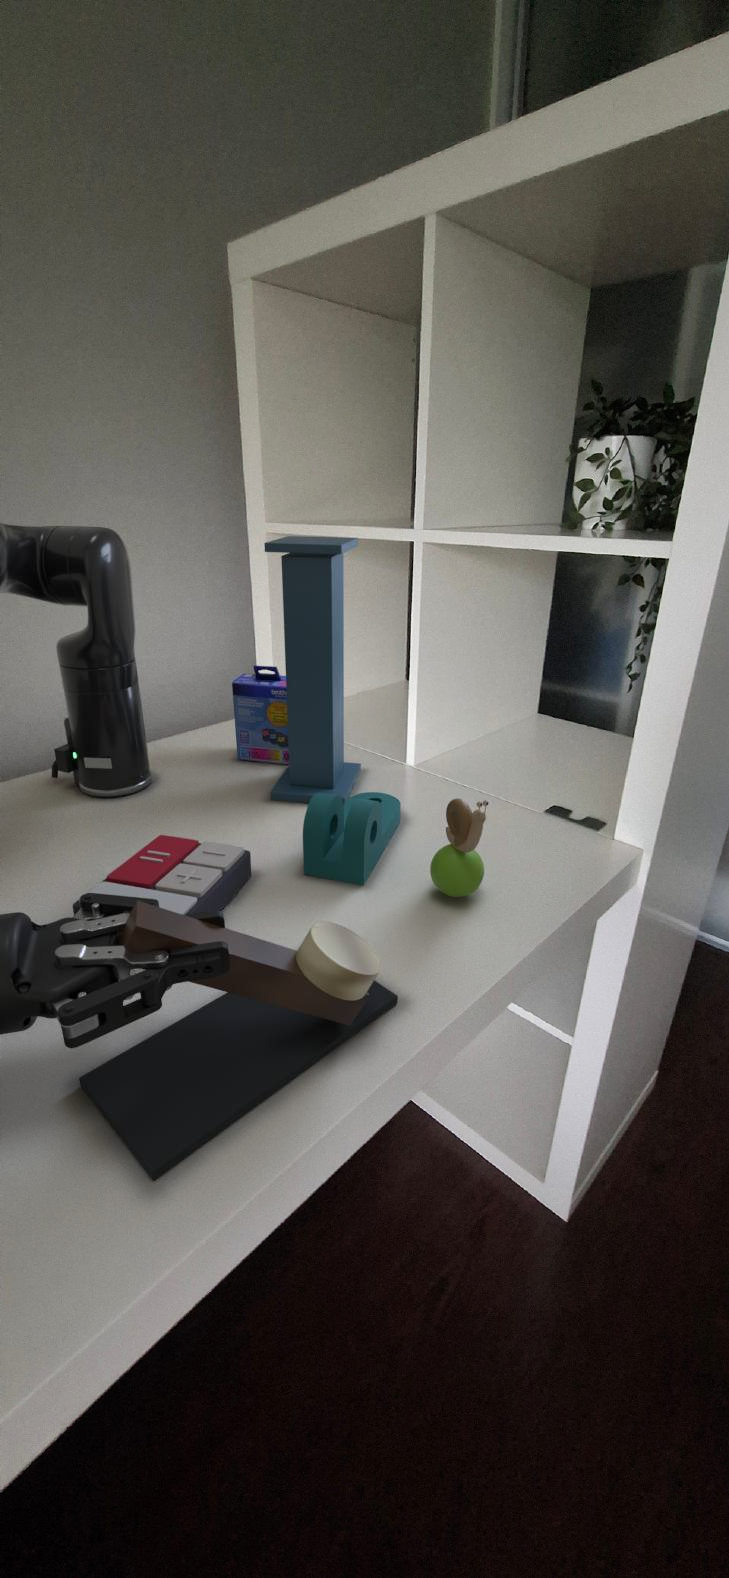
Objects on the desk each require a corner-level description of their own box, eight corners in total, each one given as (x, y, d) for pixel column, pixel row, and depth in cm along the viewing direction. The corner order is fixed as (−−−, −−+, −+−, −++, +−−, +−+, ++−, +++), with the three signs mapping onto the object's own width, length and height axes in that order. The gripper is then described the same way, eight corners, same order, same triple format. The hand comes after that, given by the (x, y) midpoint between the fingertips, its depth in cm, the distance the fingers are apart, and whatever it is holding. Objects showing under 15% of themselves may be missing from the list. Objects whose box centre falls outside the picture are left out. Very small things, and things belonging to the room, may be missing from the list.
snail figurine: (450, 917, 67) (458, 807, 62) (419, 884, 72) (425, 780, 67) (497, 905, 69) (509, 797, 64) (464, 874, 74) (472, 772, 69)
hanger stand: (344, 806, 89) (344, 545, 76) (270, 800, 91) (257, 543, 77) (360, 770, 100) (363, 537, 87) (294, 765, 101) (286, 535, 88)
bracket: (363, 885, 72) (364, 818, 69) (303, 874, 74) (301, 808, 71) (405, 812, 88) (408, 754, 84) (355, 804, 89) (355, 748, 86)
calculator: (251, 843, 72) (179, 917, 59) (253, 879, 74) (183, 960, 60) (158, 829, 75) (68, 897, 61) (161, 865, 76) (75, 938, 63)
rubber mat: (153, 1181, 42) (152, 1172, 41) (80, 1086, 48) (78, 1077, 48) (397, 1003, 56) (398, 995, 56) (316, 948, 62) (315, 941, 62)
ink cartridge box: (235, 761, 103) (228, 665, 97) (248, 748, 108) (242, 656, 102) (298, 766, 101) (295, 670, 95) (309, 753, 106) (306, 660, 100)
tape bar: (115, 977, 43) (151, 908, 42) (119, 922, 48) (152, 859, 47) (354, 1040, 50) (391, 983, 49) (336, 986, 56) (369, 934, 55)
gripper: (-104, 1010, 36) (232, 959, 40) (-36, 873, 48) (215, 844, 52) (-68, 1114, 39) (240, 1055, 43) (-13, 959, 51) (222, 926, 55)
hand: (225, 940), depth 48 cm, fingers closed on tape bar, 3 cm apart
